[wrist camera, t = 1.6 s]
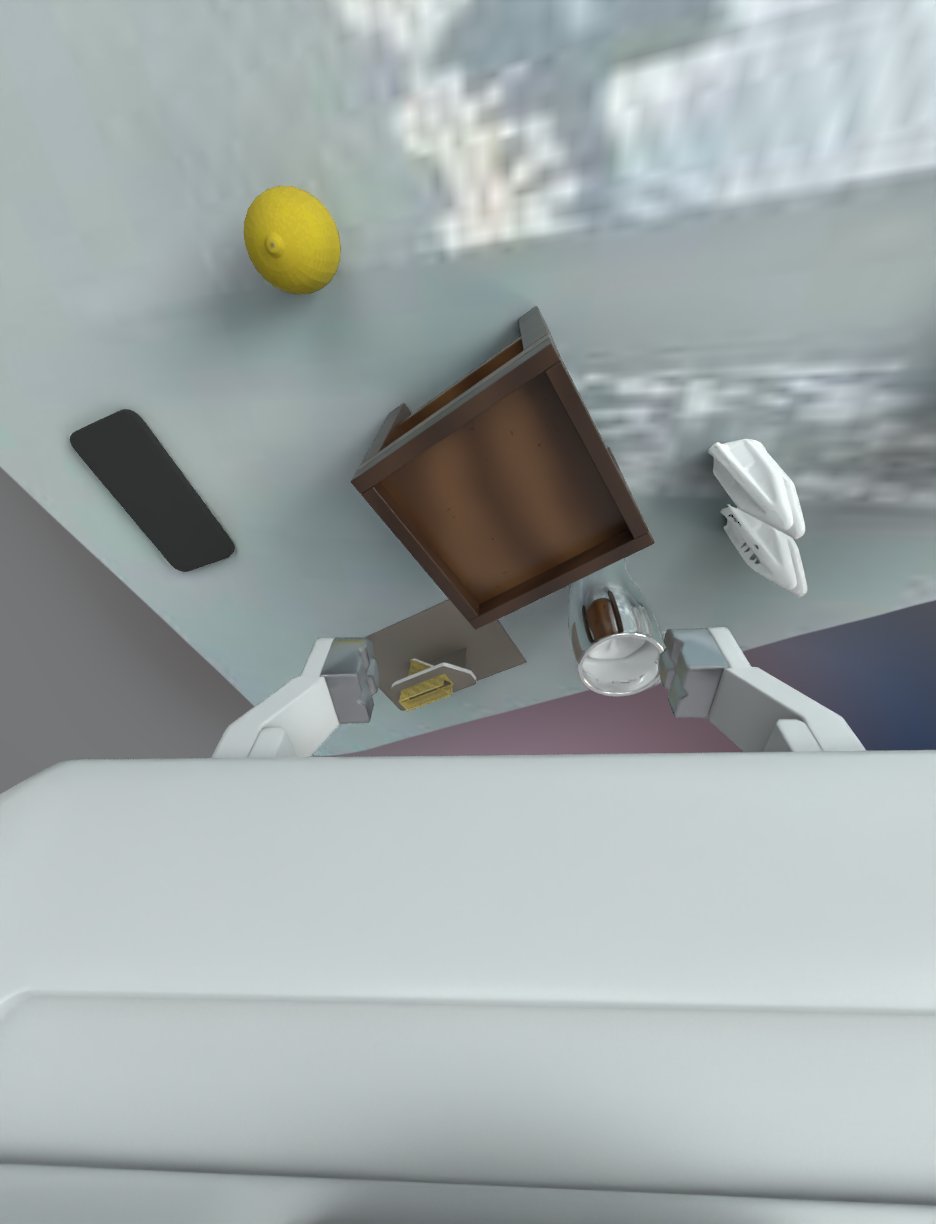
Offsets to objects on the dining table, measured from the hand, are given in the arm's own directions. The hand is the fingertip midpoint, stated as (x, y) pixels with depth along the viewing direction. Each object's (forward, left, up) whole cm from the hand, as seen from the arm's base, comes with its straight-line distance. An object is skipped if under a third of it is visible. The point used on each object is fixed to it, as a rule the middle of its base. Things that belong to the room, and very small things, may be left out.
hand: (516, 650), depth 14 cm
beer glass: (+2, +19, -33) cm, 38 cm away
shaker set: (-12, +19, -33) cm, 40 cm away
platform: (+23, +21, -33) cm, 45 cm away
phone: (+33, -9, -33) cm, 47 cm away
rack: (+3, +4, -33) cm, 33 cm away
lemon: (+7, -15, -33) cm, 36 cm away
